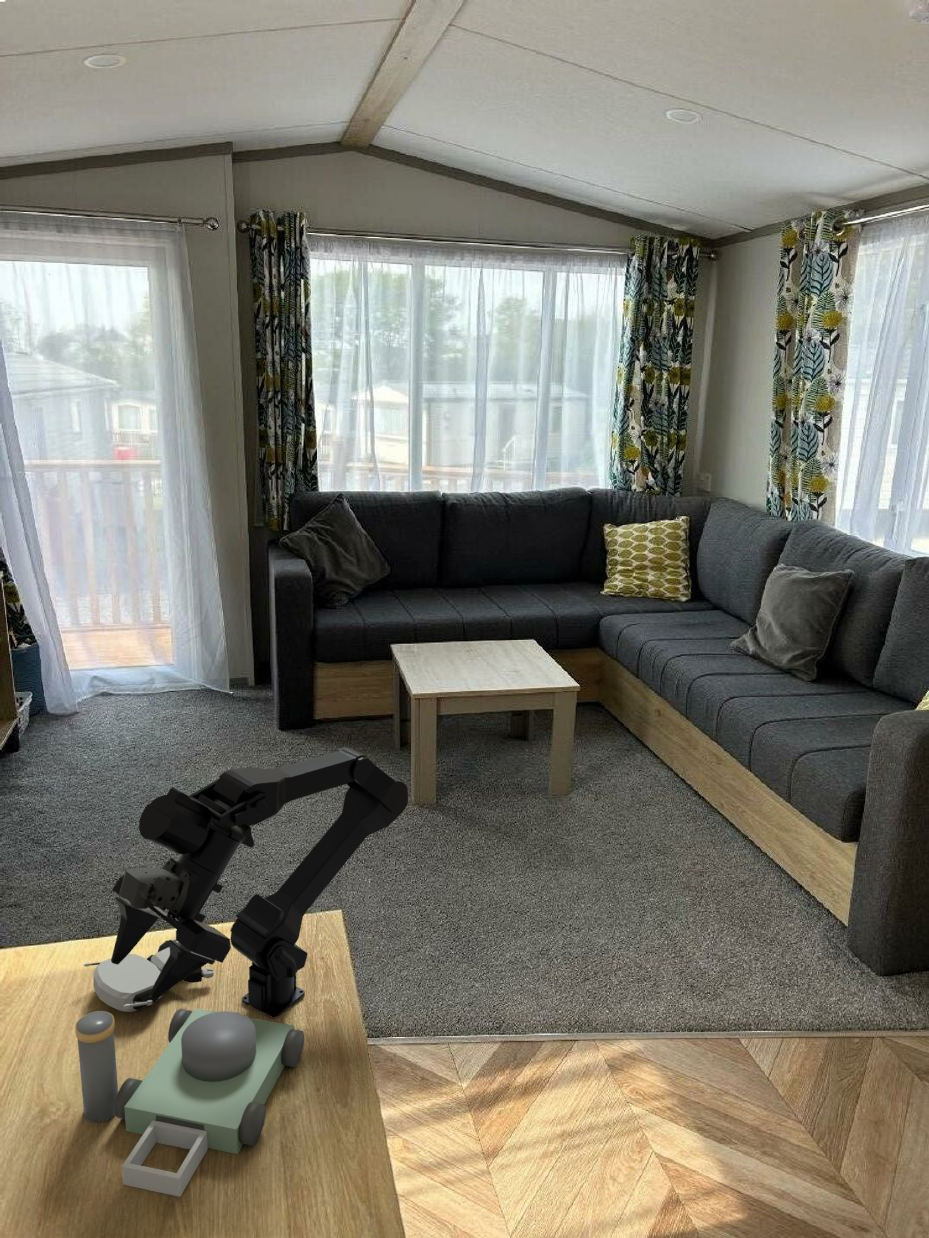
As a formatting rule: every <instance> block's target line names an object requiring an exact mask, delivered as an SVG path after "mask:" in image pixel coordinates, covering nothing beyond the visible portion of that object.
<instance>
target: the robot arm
mask: <svg viewBox="0 0 929 1238" xmlns="http://www.w3.org/2000/svg"><path fill="white" fill-rule="evenodd" d="M344 785H346V786H347V787H348V789H347V791H346V792H345V794H344V799H343V804H342V809H341V813H340V814H339V816H338V817H337V819H336V820H335V821H334V822H333V824H332V825H331V826H330V827H329V829H328V830H327V831H326V832H324V834H323V836H322V837H321V838H320V839H319V840H318V841H317V843H316V844H314V846H313V848H312V849H311V850H310V851H309V852H308V853H307V855H305V857H304V858H303V860H302V861H301V862H300V863H299V865H297V867H296V868H295V870H294V871H292V873H291V874H290V875H289V877H288V878H287V879H286V880H285V881H284V882H283V884H282V885H281V886H280V888H279V889H278V890H276V892H275V893H271V894H270V895H267V896H265V897H263V896H262V895H261V894H259V893H256V894H254V895H253V896H252V897H251V898H250V899H249V901H248V902H247V904H246V905H245V907H243V908H242V909H241V910H240V911H239V912H238V913H236V914H235V917H236V919H235V921H234V922H233V924H232V925H231V928H230V937H228V936H226V935H225V934H224V933H222V932H221V931H219V930H218V929H217V928H216V927H214V926H212V925H211V926H210V925H209V924H206V923H203V921H204V920H205V919H206V914H204V913H203V912H201V911H202V910H203V908H204V906H205V905H206V903H207V901H208V900H209V898H210V896H211V894H212V893H213V892H215V893H218V894H220V893H221V891H222V889H223V888H224V885H223V884H221V883H220V882H219V880H220V879H221V877H222V875H223V873H225V870H226V869H227V868H228V866H229V864H230V862H231V861H232V859H233V858H234V855H235V854H236V852H237V850H238V849H239V847H240V845H241V844H242V845H244V846H246V847H248V848H250V849H252V848H254V846H255V841H254V840H255V839H254V837H253V833H252V826H257V825H259V824H261V823H262V822H264V821H266V820H269V819H270V818H272V817H274V816H275V815H278V813H279V812H280V810H281V809H282V808H283V806H285V805H287V804H289V803H291V802H293V801H296V800H299V799H303V798H306V797H309V796H313V795H316V794H318V793H321V792H325V791H328V790H329V791H330V790H331V789H334V788H338V787H341V786H344ZM408 803H409V790H408V787H407V785H406V783H405V782H403V781H401V780H400V779H397V778H395V777H393V776H391V775H389V774H387V773H386V772H385V771H383V769H381V768H379V766H377V765H376V764H375V763H374V762H373V760H371V759H370V758H369V756H367V755H365V754H363V753H362V752H359V751H357V750H355V749H353V748H351V747H340V748H338V749H337V750H336V751H334V752H330V753H327V754H324V755H319V756H315V757H313V758H308V759H305V760H302V761H299V762H295V763H294V762H293V763H291V764H288V765H284V766H280V767H277V768H261V767H241V768H240V767H239V768H238V767H237V768H232V769H229V770H226V771H224V772H222V773H221V774H219V778H218V779H216V780H214V781H212V782H211V783H209V784H207V785H205V786H204V787H202V788H200V789H198V790H197V791H195V792H193V793H191V794H190V795H188V794H186V793H185V792H183V791H181V790H180V789H178V788H176V787H175V786H171V787H170V788H169V790H168V792H167V793H166V794H163V795H160V796H157V797H156V798H154V799H153V800H152V801H151V802H150V803H149V804H147V805H146V806H145V808H144V809H143V811H142V813H141V815H140V818H139V822H138V830H139V834H140V835H141V837H142V838H143V839H145V840H146V841H148V842H151V843H153V844H155V845H158V846H159V847H161V848H164V849H166V850H169V851H171V852H174V853H175V854H177V855H180V856H179V858H178V859H175V858H173V857H171V858H170V859H169V860H167V861H166V863H165V864H164V866H163V867H162V868H154V867H144V868H143V867H142V868H140V867H139V868H138V867H137V868H127V869H125V872H124V874H123V875H121V876H120V877H119V878H118V880H117V881H116V883H115V884H114V886H113V887H112V891H113V892H115V894H117V895H118V896H115V898H114V899H115V900H114V901H115V902H116V903H117V906H118V908H119V909H118V910H119V913H120V921H119V924H118V925H119V927H118V931H117V935H116V937H115V938H116V940H115V942H114V947H113V951H112V955H111V962H112V963H113V964H117V965H118V964H119V963H120V962H121V961H122V960H123V959H124V958H125V957H126V956H127V955H128V954H131V952H132V951H133V949H134V948H135V947H136V946H137V944H138V943H139V942H140V941H141V940H142V939H143V937H144V936H145V935H146V934H147V933H148V932H149V930H150V929H151V928H152V927H153V926H154V925H155V923H156V922H157V921H158V920H159V918H162V919H163V920H164V921H165V922H167V923H168V924H169V925H171V926H172V928H174V929H176V930H175V939H176V941H178V942H179V943H178V942H175V941H172V940H171V939H169V946H170V956H169V958H168V959H167V961H166V963H165V965H164V967H163V969H162V971H161V972H160V974H159V976H158V978H157V980H156V982H155V984H154V986H153V988H152V991H151V993H150V997H152V998H155V999H157V998H159V997H160V996H161V995H162V996H163V995H164V994H165V993H167V992H168V991H170V990H171V989H172V988H173V987H175V986H176V985H177V984H179V983H181V982H180V981H181V980H183V979H184V978H186V977H187V976H188V975H190V974H191V973H193V972H195V971H196V970H198V969H199V968H203V967H204V966H206V965H207V964H209V965H211V966H212V965H214V964H215V963H216V962H219V963H222V964H223V963H224V961H225V959H226V958H227V956H228V955H229V952H230V951H231V948H232V947H233V949H234V950H236V951H237V952H238V953H240V954H241V955H242V956H243V957H245V958H246V959H248V960H249V961H250V962H251V965H250V966H249V967H248V976H249V977H248V978H249V979H248V980H247V993H246V994H244V995H243V996H242V997H241V1002H242V1003H243V1004H245V1005H246V1006H249V1007H251V1008H253V1009H255V1010H257V1011H258V1012H260V1013H262V1014H265V1015H267V1016H268V1017H270V1018H273V1019H275V1018H276V1019H277V1018H278V1017H280V1015H282V1014H284V1013H285V1012H286V1011H287V1010H288V1009H290V1007H292V1006H293V1005H294V1004H295V1003H296V1002H298V1001H299V1000H300V999H302V998H303V997H304V996H306V995H305V993H306V991H305V990H304V989H303V988H301V987H299V986H297V973H298V971H299V970H302V969H303V968H305V965H306V962H307V958H308V952H307V951H306V950H304V949H303V948H301V947H300V946H299V945H297V944H296V943H297V942H298V940H299V939H300V934H301V929H302V924H303V918H304V916H305V914H306V913H307V912H308V910H309V909H310V908H311V907H312V905H313V904H314V903H315V901H316V900H317V899H318V898H319V897H320V895H322V894H323V892H324V890H325V889H326V888H327V887H328V885H330V883H331V882H332V880H334V878H335V877H336V876H337V874H338V873H339V872H340V870H341V869H342V868H343V867H344V865H345V864H346V863H347V862H348V860H349V859H350V858H351V857H352V856H353V854H354V853H355V852H356V851H357V849H359V847H360V846H361V844H362V843H363V842H364V841H365V840H366V838H367V837H369V836H370V835H372V834H374V833H377V832H380V831H381V830H384V829H385V828H388V827H389V826H390V825H391V824H392V823H393V822H394V821H396V819H397V818H398V817H400V815H401V814H402V813H403V812H404V811H405V810H406V808H407V806H408ZM119 896H120V897H119ZM162 996H161V997H162Z"/></svg>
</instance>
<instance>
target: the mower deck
mask: <svg viewBox="0 0 929 1238" xmlns="http://www.w3.org/2000/svg"><path fill="white" fill-rule="evenodd" d="M167 1039H168V1042H169V1044H168V1045H167V1046H166V1048H165V1050H164V1051H163V1052H162V1053H161V1055H160V1056H159V1058H158V1059H157V1060H156V1062H155V1063H154V1065H153V1066H152V1067H151V1069H150V1070H149V1072H148V1073H147V1075H145V1077H144V1079H143V1080H142V1079H137V1078H133V1077H128V1078H126V1079H125V1081H124V1082H123V1083H122V1084H121V1086H120V1087H119V1089H118V1094H117V1098H116V1102H115V1116H114V1117H116V1118H117V1119H121V1120H124V1121H125V1131H126V1132H129V1133H132V1134H133V1133H134V1134H139V1135H142V1136H141V1137H140V1138H139V1140H138V1141H137V1143H136V1144H135V1145H134V1148H133V1149H132V1150H131V1152H130V1154H129V1155H128V1156H127V1157H126V1160H125V1161H124V1162H123V1164H122V1165H121V1173H122V1174H121V1175H122V1185H124V1186H128V1187H132V1188H133V1187H134V1188H138V1189H141V1190H146V1191H151V1192H156V1193H160V1194H164V1195H170V1196H175V1197H179V1198H181V1196H182V1194H183V1192H184V1191H185V1189H186V1187H187V1186H188V1184H189V1182H190V1181H191V1179H192V1177H193V1175H194V1174H195V1172H196V1170H197V1169H198V1167H199V1165H200V1163H201V1162H202V1160H203V1158H204V1157H205V1154H206V1153H207V1151H208V1149H211V1150H215V1151H221V1152H226V1153H230V1154H236V1155H238V1154H239V1152H240V1150H241V1149H242V1146H243V1145H248V1146H252V1147H253V1146H255V1145H256V1144H257V1143H258V1141H259V1139H260V1138H261V1135H262V1132H263V1128H264V1124H265V1119H266V1107H265V1103H266V1101H267V1100H268V1098H269V1097H270V1094H271V1092H272V1090H273V1089H274V1087H275V1085H276V1083H277V1081H278V1079H279V1078H280V1076H281V1074H282V1071H283V1070H284V1068H285V1067H290V1068H296V1067H297V1066H298V1064H299V1063H300V1060H301V1058H302V1055H303V1051H304V1045H305V1032H304V1031H303V1030H299V1029H296V1028H295V1025H292V1024H286V1023H281V1022H276V1021H270V1020H265V1019H259V1018H253V1017H248V1016H246V1015H244V1014H242V1013H239V1012H235V1011H215V1010H211V1009H210V1010H209V1009H204V1008H198V1007H195V1008H193V1009H192V1010H190V1009H184V1008H179V1009H177V1010H176V1011H175V1012H174V1014H173V1016H172V1018H171V1021H170V1023H169V1027H168V1035H167ZM157 1143H158V1144H162V1145H167V1146H172V1147H176V1148H181V1149H184V1150H185V1149H186V1150H189V1152H188V1153H187V1155H186V1156H185V1158H184V1160H183V1162H182V1163H181V1165H180V1167H179V1169H178V1170H177V1172H172V1171H167V1170H163V1169H159V1168H154V1167H150V1166H149V1167H148V1166H145V1165H143V1163H144V1162H145V1161H146V1159H147V1157H148V1155H150V1153H151V1151H152V1149H153V1148H154V1146H155V1145H156V1144H157Z"/></svg>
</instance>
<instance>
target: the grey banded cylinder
mask: <svg viewBox="0 0 929 1238" xmlns="http://www.w3.org/2000/svg"><path fill="white" fill-rule="evenodd" d="M115 1026H116V1024H115V1016H114V1015H113V1014H112V1013H110V1012H108V1011H104V1010H96V1011H92V1012H89V1013H86V1014H84V1015H82V1016H81V1017H80V1018H78V1020H77V1021H76V1022H75V1026H74V1027H75V1029H74V1030H75V1037H76V1039H77V1047H78V1049H77V1050H78V1060H79V1061H78V1062H79V1071H80V1084H81V1093H82V1104H83V1106H82V1107H83V1114H84V1115H83V1116H84V1118H85V1119H86V1120H87V1121H89V1122H90V1123H102V1122H107V1121H108V1120H111V1119H112V1118H114V1117H116V1116H115V1102H116V1098H117V1094H118V1092H119V1084H118V1082H119V1081H118V1071H117V1069H118V1067H117V1057H116V1042H115V1028H116V1027H115Z"/></svg>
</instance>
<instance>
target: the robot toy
mask: <svg viewBox="0 0 929 1238" xmlns="http://www.w3.org/2000/svg"><path fill="white" fill-rule="evenodd" d="M169 940H172V941H175V942H178V941H176V938H171V939H169ZM169 940H165V941H164V942H163V943H162V944H160V945H159V947H158V949H157V953H155V954H151V955H150V956H149V955H148V957H143V956H140V955H139V954H136V953H129V954H128V955H127V956H126V957H125V958H124V959H123V960H122V961H121V962H120V963H119V964H118V965H117V964H113V963H112V962H111V958H112V957H111V958H108V959H106V960H102V961H97V962H85V963H84V964H83V966H84V967H90V966H95V968H94V970H93V988H94V992H95V994H96V995H97V997H98V999H99V1000H100V1001H102V1002H103V1003H105V1004H106V1005H108V1006H109V1007H111V1008H113V1009H116V1011H117V1010H118V1011H120V1012H127V1013H133V1012H136V1011H139V1010H142V1009H145V1008H147V1007H149V1006H151V1005H154V1004H156V1003H157V1002H158V1001H159V1000H160V999H161V998H162V997H163V995H161V996H160V997H159V998H157V999H155V998H152V997H150V993H151V991H152V988H153V986H154V984H155V982H156V980H157V978H158V976H159V974H160V972H161V971H162V969H163V967H164V965H165V963H166V961H167V959H168V958H169V956H170V946H169ZM178 943H179V942H178ZM214 973H215V972H214V969H213V968H212V967H206V968H203V967H201V968H199V969H198V970H196V971H195V972H193V973H191V974H190V975H188V976H187V977H186V978H184V979H183V980H181V981H180V982H179V983H182V982H184V983H185V982H186V983H188V984H193V983H200V982H201V983H202V981H203V978H205V979H210V978H213V976H215V975H214Z"/></svg>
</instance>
